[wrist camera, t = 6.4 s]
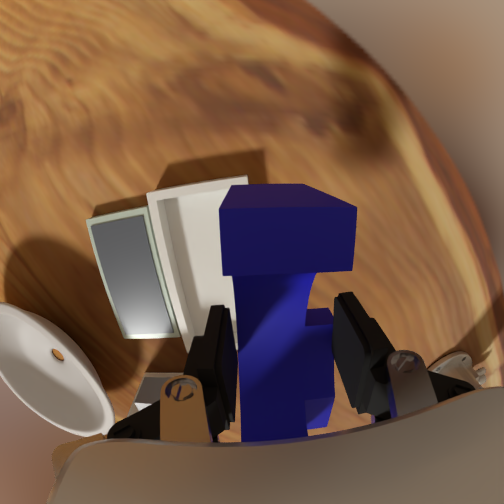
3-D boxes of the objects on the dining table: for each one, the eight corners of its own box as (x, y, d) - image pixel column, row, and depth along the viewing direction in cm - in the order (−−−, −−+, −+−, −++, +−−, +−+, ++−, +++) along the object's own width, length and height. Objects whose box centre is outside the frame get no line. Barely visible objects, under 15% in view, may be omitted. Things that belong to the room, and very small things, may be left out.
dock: (247, 174, 24) (247, 176, 22) (268, 332, 30) (269, 346, 27) (155, 189, 24) (146, 193, 22) (191, 339, 30) (187, 353, 28)
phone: (150, 204, 25) (145, 207, 24) (182, 330, 29) (179, 337, 28) (91, 217, 25) (85, 220, 24) (127, 333, 30) (123, 339, 28)
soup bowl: (27, 380, 35) (11, 402, 28) (-8, 265, 27) (-36, 283, 21) (137, 424, 36) (127, 454, 30) (121, 304, 28) (96, 337, 22)
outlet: (205, 351, 30) (194, 411, 22) (213, 378, 32) (205, 435, 23) (136, 353, 31) (111, 406, 22) (148, 378, 32) (128, 430, 24)
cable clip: (316, 390, 15) (338, 470, 10) (242, 395, 15) (243, 480, 10) (336, 184, 12) (411, 208, 6) (231, 185, 11) (218, 208, 6)
